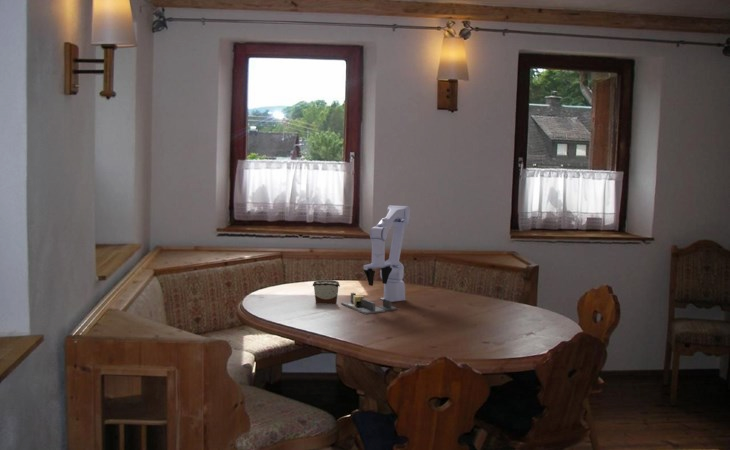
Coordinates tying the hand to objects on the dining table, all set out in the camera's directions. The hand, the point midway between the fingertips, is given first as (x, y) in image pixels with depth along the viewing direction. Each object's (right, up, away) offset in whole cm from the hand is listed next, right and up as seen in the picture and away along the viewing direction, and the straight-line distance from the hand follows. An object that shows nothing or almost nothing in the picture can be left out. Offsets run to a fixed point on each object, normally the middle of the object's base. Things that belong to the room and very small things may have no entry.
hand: (377, 284), depth 341 cm
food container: (-23, -9, +10) cm, 26 cm away
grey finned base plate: (+4, -11, -1) cm, 11 cm away
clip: (-9, -9, +4) cm, 13 cm away
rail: (-7, -10, +1) cm, 12 cm away
